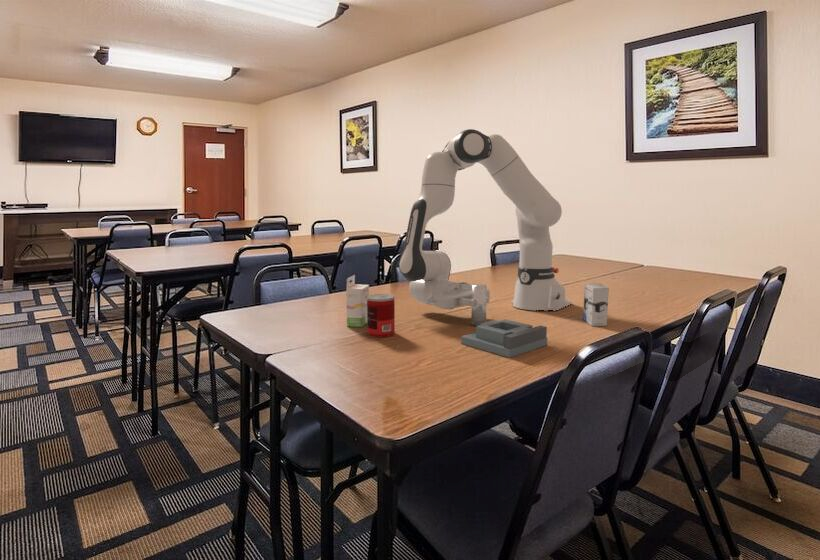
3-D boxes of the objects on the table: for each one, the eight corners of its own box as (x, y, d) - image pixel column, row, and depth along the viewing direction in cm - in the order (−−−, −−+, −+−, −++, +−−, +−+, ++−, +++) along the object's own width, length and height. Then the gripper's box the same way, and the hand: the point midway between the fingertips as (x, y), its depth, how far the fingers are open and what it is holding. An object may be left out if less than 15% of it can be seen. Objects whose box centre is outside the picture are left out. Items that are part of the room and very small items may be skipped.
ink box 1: (362, 327, 154) (361, 279, 151) (346, 326, 155) (345, 278, 152) (370, 320, 162) (369, 274, 160) (355, 320, 163) (354, 274, 161)
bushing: (478, 321, 159) (478, 283, 157) (488, 324, 156) (489, 285, 154) (468, 323, 156) (468, 285, 154) (479, 326, 153) (479, 287, 151)
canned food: (398, 331, 149) (398, 294, 147) (388, 338, 142) (388, 299, 140) (374, 329, 152) (373, 293, 150) (363, 336, 144) (362, 298, 142)
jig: (499, 332, 147) (500, 315, 146) (547, 345, 135) (547, 326, 134) (461, 343, 137) (461, 325, 136) (509, 357, 125) (509, 337, 124)
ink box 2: (582, 319, 162) (584, 283, 160) (597, 319, 162) (600, 283, 160) (590, 326, 154) (592, 287, 152) (607, 326, 154) (609, 287, 152)
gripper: (424, 289, 157) (457, 296, 147) (469, 281, 170) (502, 287, 160) (424, 309, 158) (457, 317, 148) (469, 300, 171) (502, 307, 161)
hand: (481, 301), depth 154 cm, fingers closed on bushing, 4 cm apart
